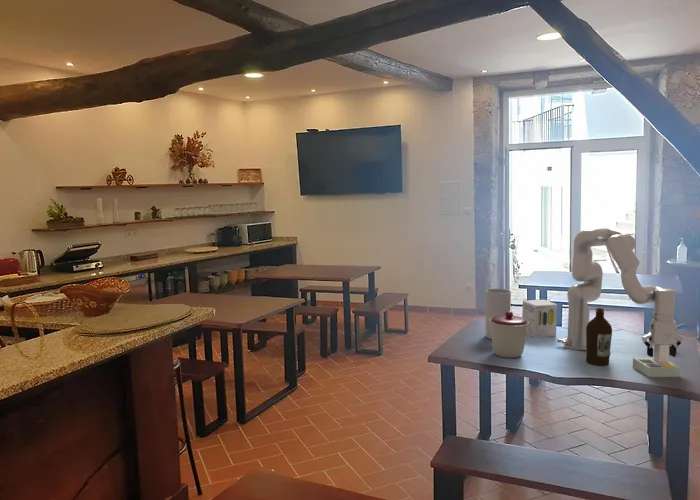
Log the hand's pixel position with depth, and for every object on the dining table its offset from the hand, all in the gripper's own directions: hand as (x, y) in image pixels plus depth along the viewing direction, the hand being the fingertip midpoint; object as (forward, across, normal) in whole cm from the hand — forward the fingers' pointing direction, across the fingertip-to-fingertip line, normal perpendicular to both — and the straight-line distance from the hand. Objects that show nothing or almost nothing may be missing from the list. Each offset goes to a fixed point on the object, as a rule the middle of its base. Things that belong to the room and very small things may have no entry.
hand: (661, 356), depth 232 cm
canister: (+6, -60, +22) cm, 64 cm away
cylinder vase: (+6, -57, +52) cm, 77 cm away
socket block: (+6, -3, -2) cm, 7 cm away
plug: (+6, 0, 0) cm, 6 cm away
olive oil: (+6, -23, +10) cm, 26 cm away
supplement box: (+7, -33, +58) cm, 67 cm away
